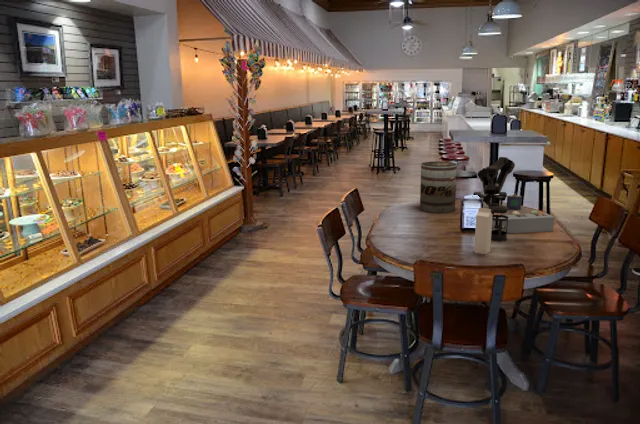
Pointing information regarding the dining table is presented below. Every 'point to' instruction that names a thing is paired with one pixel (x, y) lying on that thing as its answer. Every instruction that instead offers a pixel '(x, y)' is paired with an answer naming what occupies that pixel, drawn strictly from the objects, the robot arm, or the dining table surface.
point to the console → (528, 223)
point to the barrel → (438, 187)
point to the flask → (514, 202)
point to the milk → (483, 231)
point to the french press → (499, 222)
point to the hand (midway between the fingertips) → (491, 208)
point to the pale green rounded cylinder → (534, 212)
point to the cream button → (516, 213)
